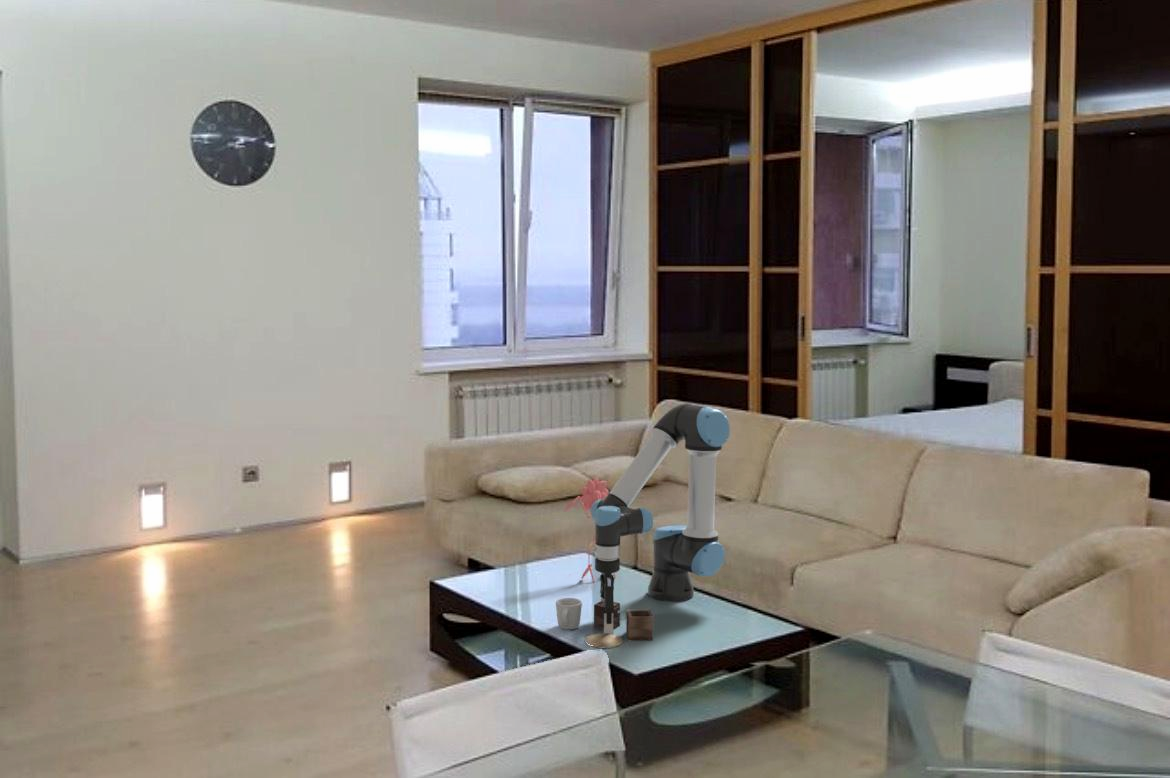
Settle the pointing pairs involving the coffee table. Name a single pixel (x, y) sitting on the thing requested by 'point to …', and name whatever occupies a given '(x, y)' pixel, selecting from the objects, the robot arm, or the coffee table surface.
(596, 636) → the coaster
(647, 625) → the pen pot
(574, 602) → the cup
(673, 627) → the coffee table surface
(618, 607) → the box
